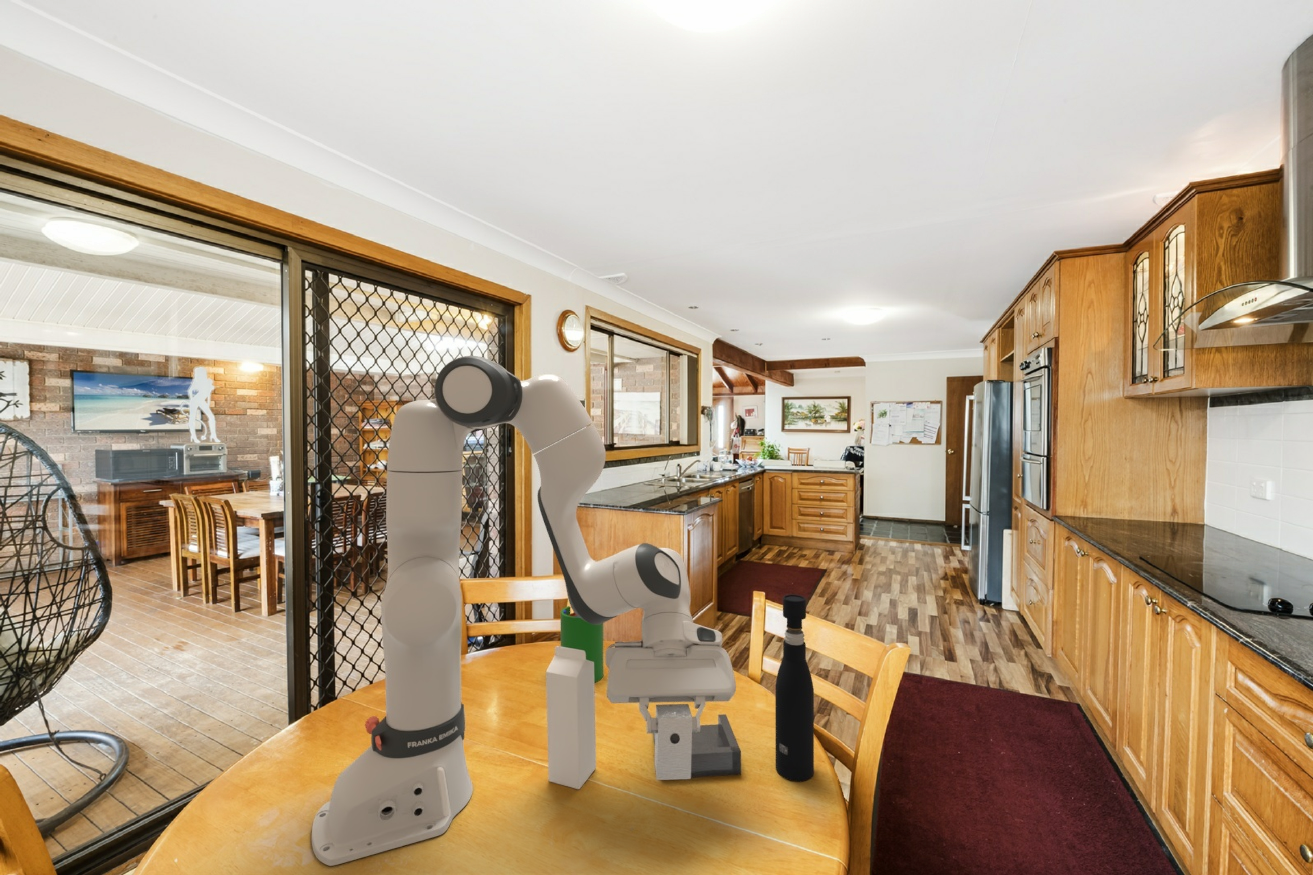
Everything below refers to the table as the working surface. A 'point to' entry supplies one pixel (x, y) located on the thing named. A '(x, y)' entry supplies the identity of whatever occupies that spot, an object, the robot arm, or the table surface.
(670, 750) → the block
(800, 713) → the black water bottle
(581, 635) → the green pencil holder
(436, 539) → the robot arm
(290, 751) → the table surface
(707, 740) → the bracket
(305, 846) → the table surface
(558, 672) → the milk
